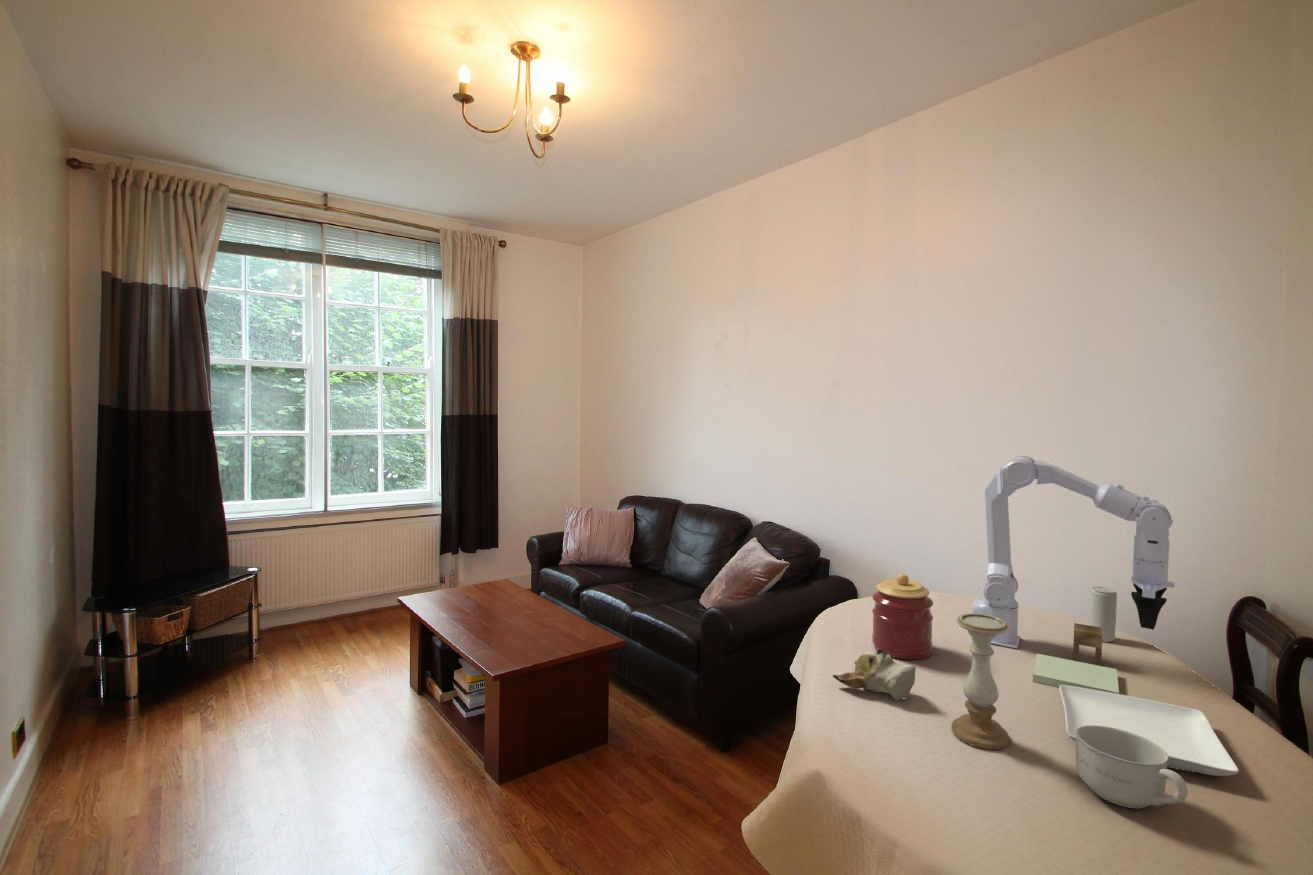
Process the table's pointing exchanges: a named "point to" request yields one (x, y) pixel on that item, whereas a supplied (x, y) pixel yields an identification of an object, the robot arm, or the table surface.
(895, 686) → the ceramic sculpture
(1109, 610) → the beverage can
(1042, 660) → the sage green board
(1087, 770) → the teacup
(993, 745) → the candle holder
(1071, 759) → the table surface
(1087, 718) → the salad plate
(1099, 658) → the walnut stool
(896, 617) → the canister
